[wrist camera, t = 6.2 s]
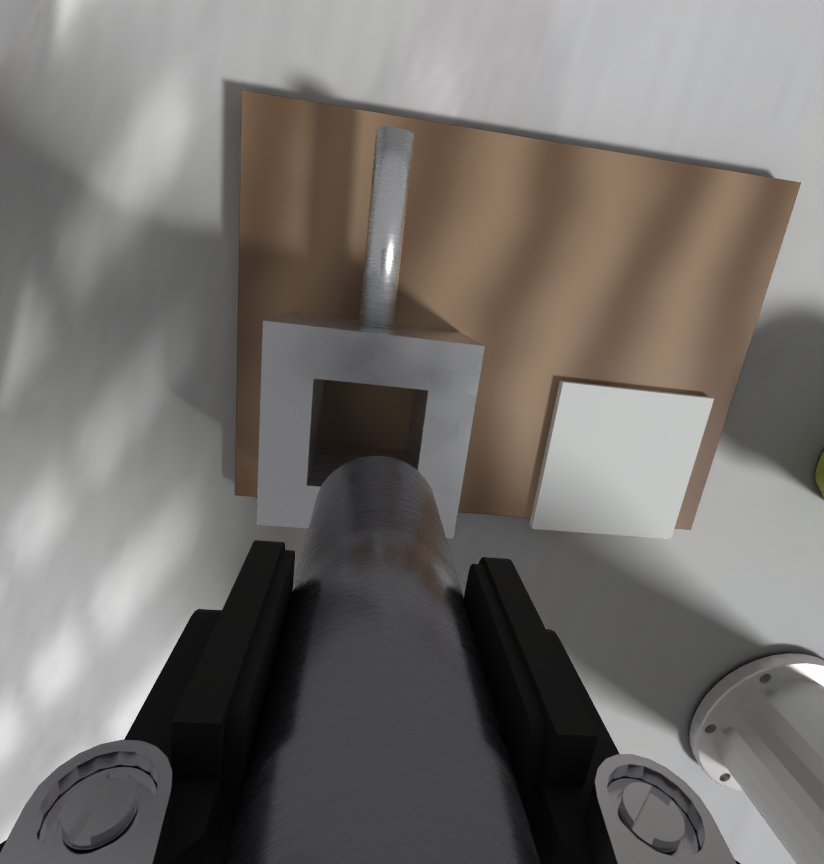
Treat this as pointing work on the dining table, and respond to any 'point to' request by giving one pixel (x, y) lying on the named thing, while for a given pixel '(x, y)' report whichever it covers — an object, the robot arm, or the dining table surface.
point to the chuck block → (365, 372)
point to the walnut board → (504, 277)
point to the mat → (618, 460)
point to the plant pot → (820, 474)
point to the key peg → (378, 698)
